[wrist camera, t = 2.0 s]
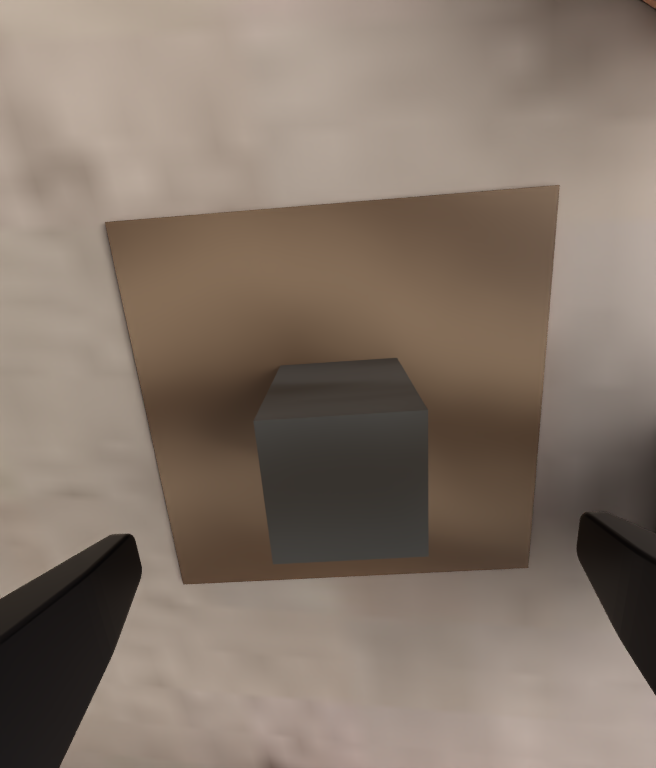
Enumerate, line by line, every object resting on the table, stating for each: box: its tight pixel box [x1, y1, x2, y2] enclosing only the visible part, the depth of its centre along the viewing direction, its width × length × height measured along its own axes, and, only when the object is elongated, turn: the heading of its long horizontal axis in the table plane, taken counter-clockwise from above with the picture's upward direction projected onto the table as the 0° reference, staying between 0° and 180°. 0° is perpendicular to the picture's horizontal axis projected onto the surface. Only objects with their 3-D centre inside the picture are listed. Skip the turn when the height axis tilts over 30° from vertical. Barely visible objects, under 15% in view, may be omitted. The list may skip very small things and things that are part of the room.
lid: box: [105, 185, 560, 584], centre depth 13 cm, size 14×14×6 cm
